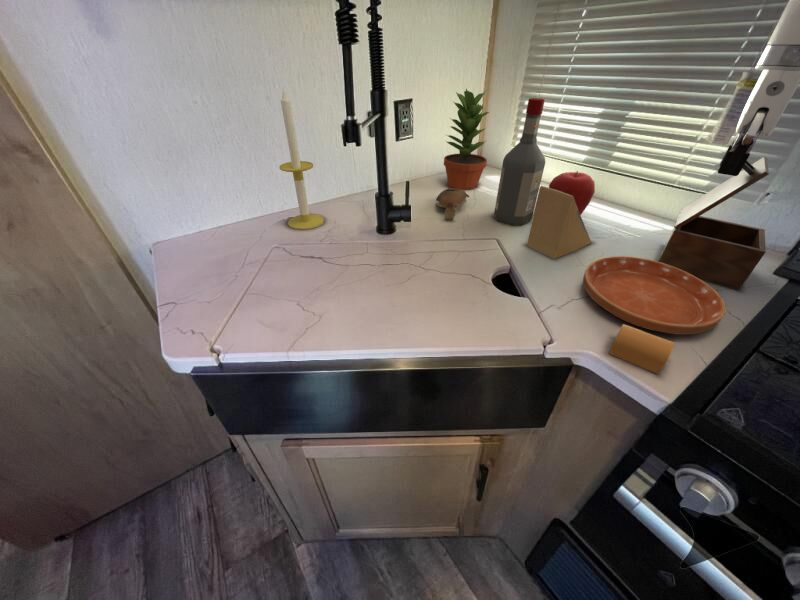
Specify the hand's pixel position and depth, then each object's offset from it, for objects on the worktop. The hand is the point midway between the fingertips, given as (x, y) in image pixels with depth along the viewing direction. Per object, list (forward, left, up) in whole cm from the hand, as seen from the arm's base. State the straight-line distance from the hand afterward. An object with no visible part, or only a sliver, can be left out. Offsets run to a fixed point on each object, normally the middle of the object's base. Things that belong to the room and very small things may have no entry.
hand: (728, 169), depth 69 cm
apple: (+29, -8, -21) cm, 37 cm away
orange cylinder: (+1, +41, -21) cm, 45 cm away
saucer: (+3, +23, -21) cm, 31 cm away
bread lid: (-1, 0, -5) cm, 5 cm away
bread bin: (-4, 0, -21) cm, 21 cm away
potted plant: (+67, -15, -21) cm, 72 cm away
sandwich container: (+24, +9, -21) cm, 33 cm away
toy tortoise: (+58, +6, -21) cm, 62 cm away
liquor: (+40, +2, -21) cm, 45 cm away
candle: (+84, +41, -21) cm, 96 cm away
